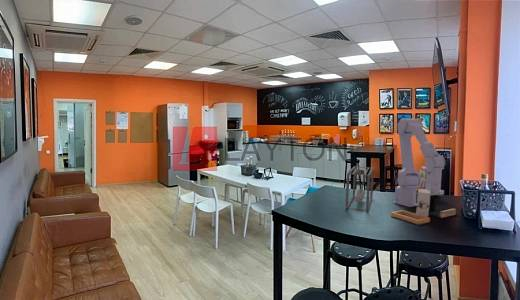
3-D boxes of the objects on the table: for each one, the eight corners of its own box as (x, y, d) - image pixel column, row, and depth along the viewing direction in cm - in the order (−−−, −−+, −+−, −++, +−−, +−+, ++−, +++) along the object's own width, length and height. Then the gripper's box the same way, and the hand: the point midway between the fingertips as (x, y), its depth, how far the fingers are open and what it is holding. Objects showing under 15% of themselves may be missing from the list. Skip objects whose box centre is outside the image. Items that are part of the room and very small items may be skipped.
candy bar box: (417, 193, 187) (419, 166, 186) (426, 193, 186) (428, 166, 185) (423, 197, 176) (425, 168, 175) (433, 198, 175) (435, 169, 174)
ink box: (416, 213, 145) (418, 188, 144) (429, 215, 142) (430, 189, 141) (415, 218, 137) (417, 191, 136) (428, 220, 135) (430, 193, 134)
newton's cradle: (368, 212, 145) (370, 174, 143) (345, 209, 149) (346, 172, 148) (372, 198, 172) (374, 166, 171) (352, 196, 177) (354, 165, 175)
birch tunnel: (419, 211, 148) (419, 206, 148) (432, 208, 153) (433, 203, 153) (442, 217, 139) (442, 212, 138) (455, 214, 144) (456, 209, 144)
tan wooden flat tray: (391, 216, 139) (391, 212, 139) (402, 213, 143) (402, 210, 143) (418, 224, 128) (418, 220, 128) (429, 222, 132) (430, 217, 132)
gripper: (433, 185, 135) (430, 215, 136) (451, 182, 143) (449, 211, 144) (417, 182, 141) (415, 211, 143) (436, 179, 149) (434, 207, 150)
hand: (431, 211), depth 144 cm, fingers closed
